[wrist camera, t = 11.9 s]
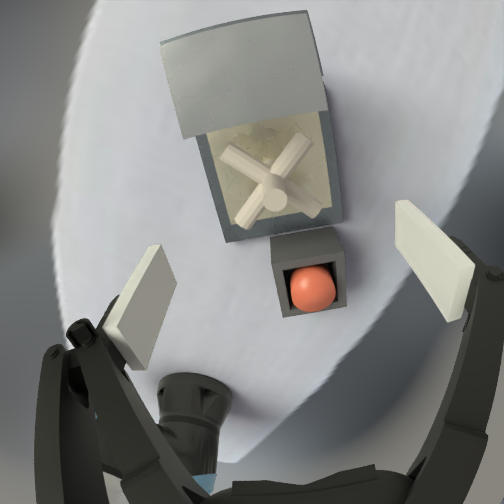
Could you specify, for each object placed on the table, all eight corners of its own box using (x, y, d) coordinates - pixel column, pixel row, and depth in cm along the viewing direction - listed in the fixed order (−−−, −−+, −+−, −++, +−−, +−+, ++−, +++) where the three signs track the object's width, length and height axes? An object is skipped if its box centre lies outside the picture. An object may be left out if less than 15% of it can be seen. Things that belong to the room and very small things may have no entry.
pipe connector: (336, 157, 29) (367, 186, 20) (281, 226, 33) (288, 278, 25) (257, 102, 26) (256, 105, 18) (205, 179, 31) (183, 217, 22)
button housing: (336, 277, 39) (346, 306, 34) (280, 287, 40) (282, 317, 35) (332, 226, 35) (344, 251, 30) (269, 237, 36) (271, 264, 31)
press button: (331, 291, 34) (336, 307, 32) (292, 298, 35) (294, 315, 32) (328, 258, 32) (334, 273, 29) (286, 265, 33) (288, 281, 30)
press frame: (340, 216, 34) (413, 362, 15) (227, 236, 36) (196, 396, 17) (315, 56, 25) (417, 0, 6) (185, 83, 27) (55, 79, 8)
